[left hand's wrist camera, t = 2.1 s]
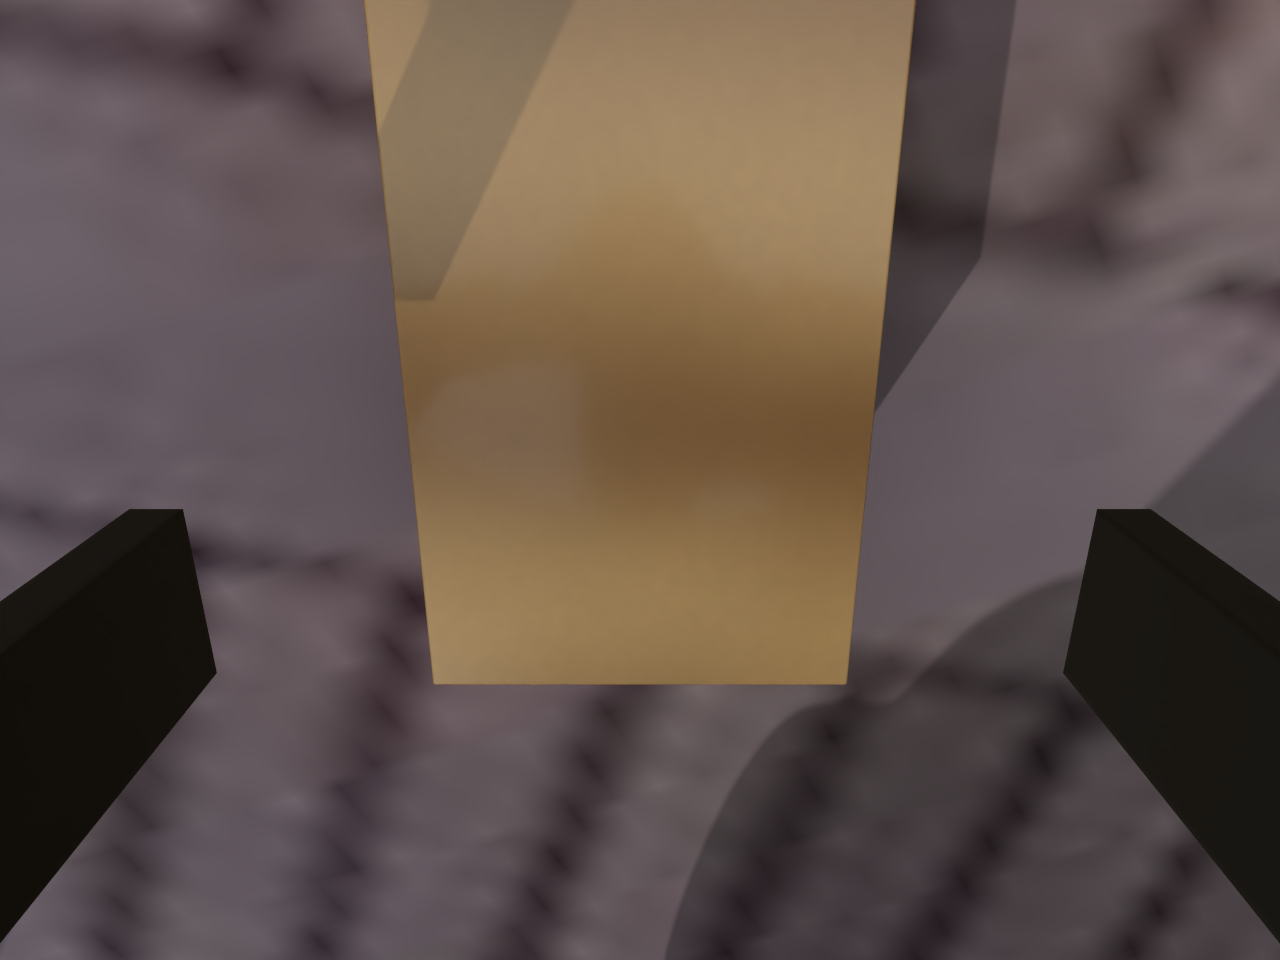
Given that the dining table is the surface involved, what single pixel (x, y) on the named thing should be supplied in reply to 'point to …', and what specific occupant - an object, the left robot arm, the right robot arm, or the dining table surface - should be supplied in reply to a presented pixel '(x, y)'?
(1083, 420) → the dining table surface
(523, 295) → the wide beam
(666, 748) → the dining table surface
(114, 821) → the dining table surface
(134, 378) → the dining table surface
